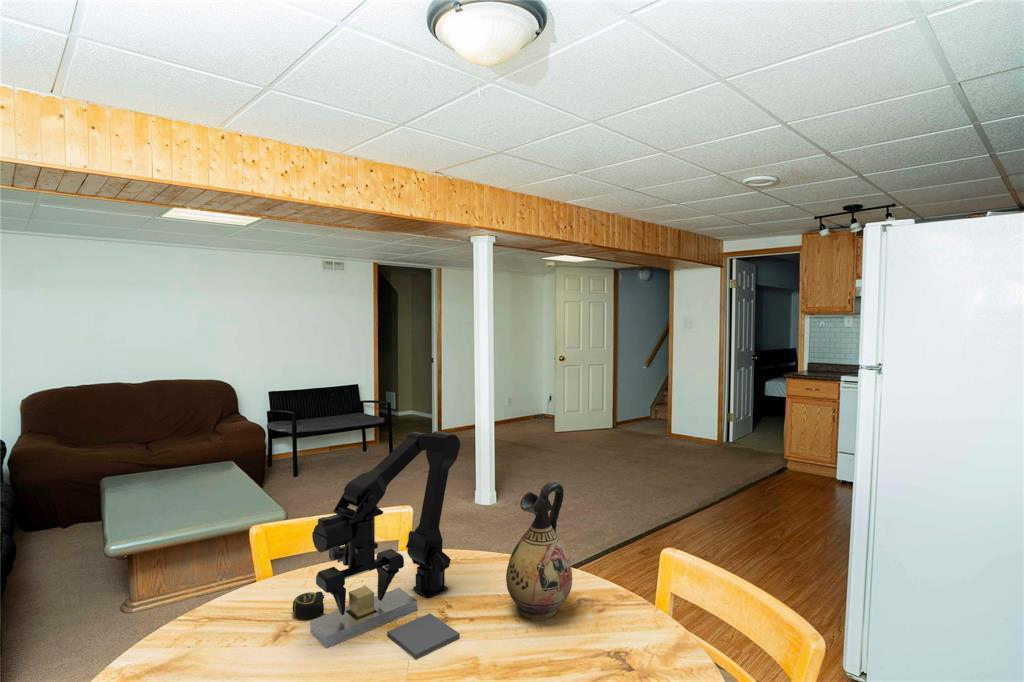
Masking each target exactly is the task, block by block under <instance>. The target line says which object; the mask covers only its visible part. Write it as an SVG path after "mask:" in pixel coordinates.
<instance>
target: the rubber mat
mask: <svg viewBox="0 0 1024 682" xmlns="http://www.w3.org/2000/svg"><path fill="white" fill-rule="evenodd" d="M460 636H461V635H460V632H458V631H457V630H456V629H454V628H452V627H451V626H449V625H448V624H446V623H445V622H444V621H443V620H441V619H439V618H438V617H437V616H435V615H434V614H432V613H427V614H425V615H422V616H420V617H418V618H415V619H413V620H410V621H408V622H406V623H403V624H402V625H401V624H400V626H397V627H394V628H392V629H390V630H387V631H386V637H388V638H389V639H390V640H391V641H392V642H394V643H395V644H396V645H398V647H400V648H401V649H402V650H404V651H405V652H406V653H408V655H410V656H411V657H412V658H413V659H414V660H417V659H420V658H422V657H423V656H426V655H428V654H430V653H432V652H434V651H436V650H438V649H441V648H442V647H444V646H446V645H449V644H450V643H452V642H455V641H456V640H459V639H460Z"/></svg>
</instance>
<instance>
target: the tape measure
mask: <svg viewBox="0 0 1024 682" xmlns="http://www.w3.org/2000/svg"><path fill="white" fill-rule="evenodd" d="M324 599H325V594H324V593H323V591H316V592H313V591H312V592H304V593H302V594H299V595H297V596H296V597H295V599H294V600H293V602H292V614H293V615H294V616H295V617H296V618H299V619H310V618H314V617H317V616H318V617H319V616H321V615H324V614H323V613H324V611H325V606H324Z"/></svg>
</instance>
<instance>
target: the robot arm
mask: <svg viewBox="0 0 1024 682" xmlns="http://www.w3.org/2000/svg"><path fill="white" fill-rule="evenodd" d="M460 448H461V439H459V437H458V436H457V435H456V434H454V433H449V432H443V431H438V430H436V431H435V430H434V431H433V432H431V433H424V432H417V431H411V432H410V433H408V434H407V435H406V438H405V439H404V440H403V441H402V442H401V443H400V444H399V445H397V446H396V447H395V448H394V449H393V450H392V451H391V452H390V453H388V455H386V457H385V458H384V459H382V460H381V462H379V464H377V465H376V466H374V468H372V469H370V470H369V471H366V472H363V473H361V474H359V475H358V476H356V477H354V478H353V479H351V480H350V481H349V482H348V483H347V484H346V485H345V487H344V488H343V493H342V495H341V497H340V498H339V500H338V502H337V504H336V506H335V507H334V509H333V511H332V512H333V513H334V514H332V515H329V516H325V517H320V518H318V519H317V524H316V525H315V526H314V528H313V531H312V533H311V535H312V544H313V545H314V548H315V549H316V551H317V552H319V553H320V554H321V553H324V552H327V551H328V558H329V560H330V562H331V561H337V563H340V562H342V565H343V566H345V567H347V568H345V569H343V570H339V569H338V568H336V567H335V566H332V567H329V568H324V569H322V570H319V571H318V572H317V574H316V576H315V585H316V586H318V587H319V588H320V589H321V590H322V591H324V592H325V593H327V594H330V595H332V597H333V599H334V601H335V604H336V606H337V608H338V609H337V610H339V611H340V614H341V615H344V613H345V608H346V603H347V602H346V600H347V599H346V598H347V588H346V587H345V585H346V580H347V579H350V578H353V577H356V576H359V575H361V574H364V573H365V574H366V573H368V572H371V571H374V570H376V572H377V596H378V600H380V601H381V600H382V599H383V597H384V595H385V593H386V592H388V591H387V590H388V589H389V586H390V585H391V583H392V581H393V579H394V577H395V576H396V575H397V574H398V573H399V572H400V569H402V568H404V567H405V559H404V556H403V555H402V554H401V553H399V552H397V551H395V550H394V549H392V548H388V549H385V550H383V551H380V552H378V553H377V554H376V552H375V551H376V549H378V548H379V545H378V542H376V540H375V539H376V538H375V536H376V533H375V532H376V530H375V529H376V527H375V526H376V524H375V523H376V522H375V520H376V519H375V517H378V516H381V515H383V514H384V511H383V510H382V509H380V507H378V504H379V503H380V501H381V500H382V499H383V498H384V496H385V494H386V491H387V487H388V486H389V485H390V483H391V482H392V481H393V480H394V479H395V478H396V477H397V476H398V475H400V474H401V472H402V471H403V470H405V469H406V467H408V465H410V464H411V462H413V461H414V459H416V458H417V457H418V455H420V453H421V452H423V451H425V455H426V460H427V463H428V472H427V473H428V474H427V480H426V485H425V492H424V496H423V501H422V507H421V513H420V518H419V523H418V526H416V528H415V530H414V531H413V530H410V531H409V532H408V537H407V538H408V539H407V543H406V545H405V548H406V549H407V550H406V551H407V555H408V557H409V558H410V559H411V561H412V563H413V564H414V565H417V566H416V573H415V586H413V587H412V588H413V590H414V591H416V592H417V593H418V594H419V595H421V596H423V597H424V598H426V599H429V598H432V597H434V596H437V595H439V594H442V593H444V592H448V591H449V587H448V586H446V585H445V584H446V583H445V574H446V572H445V571H446V569H449V568H450V564H451V560H452V559H451V558H450V557H449V556H448V555H447V554H446V553H445V552H444V551H443V541H444V540H443V536H442V533H441V530H440V524H441V516H442V511H443V506H444V500H445V494H446V488H447V482H448V476H449V471H450V469H451V468H452V467H453V465H454V464H455V462H456V461H457V458H458V456H459V451H460ZM350 506H351V507H354V508H356V509H355V510H354V509H352V508H350ZM375 554H376V555H375ZM375 558H376V559H375Z"/></svg>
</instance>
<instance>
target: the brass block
mask: <svg viewBox="0 0 1024 682" xmlns="http://www.w3.org/2000/svg"><path fill="white" fill-rule="evenodd" d="M374 597H375V592H374V591H373V590H372V589H370V588H369V587H368V586H367V585H364V586H361V587H359V588H356V589H352V590H350V591H348V606H349V615H350V616H352V617H353V618H354V619H355V620H359V619H361V618H364V617H366V616H369V615H371V614H374Z"/></svg>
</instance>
